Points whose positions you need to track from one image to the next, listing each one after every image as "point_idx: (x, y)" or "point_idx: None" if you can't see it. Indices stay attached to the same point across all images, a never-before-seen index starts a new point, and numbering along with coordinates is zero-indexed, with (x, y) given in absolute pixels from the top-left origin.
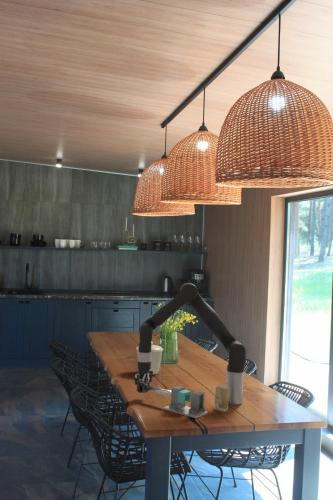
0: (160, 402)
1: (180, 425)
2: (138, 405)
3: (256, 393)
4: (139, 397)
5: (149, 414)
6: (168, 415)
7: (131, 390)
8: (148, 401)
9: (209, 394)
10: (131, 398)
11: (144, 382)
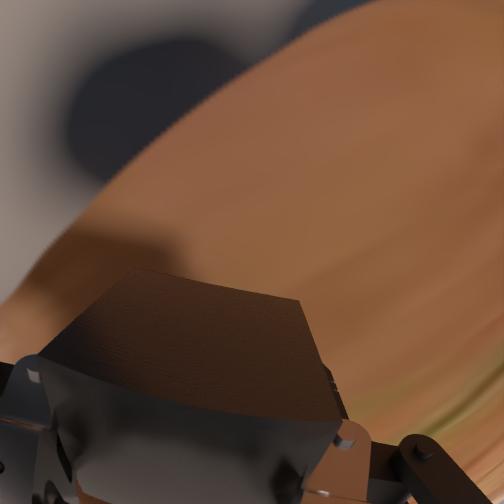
0: None
1: None
2: (48, 339)
3: (493, 499)
4: (273, 233)
5: None
6: (77, 486)
7: (449, 52)
8: None
9: (484, 471)
10: (173, 172)
11: (153, 496)
